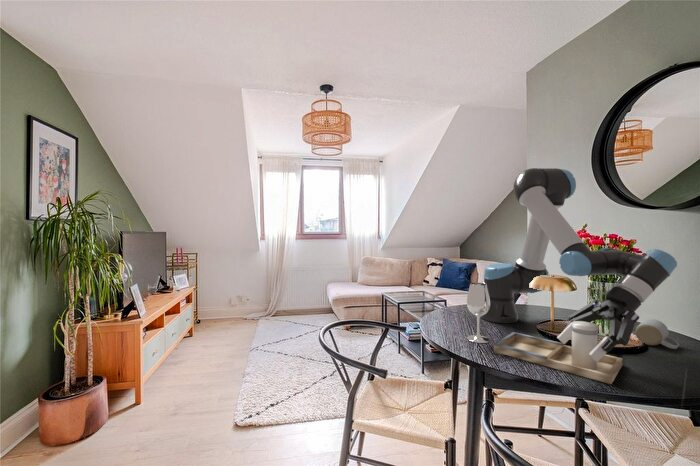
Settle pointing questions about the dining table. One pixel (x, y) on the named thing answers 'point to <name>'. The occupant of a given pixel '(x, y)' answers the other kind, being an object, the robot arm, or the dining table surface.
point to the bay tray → (555, 356)
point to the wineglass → (478, 307)
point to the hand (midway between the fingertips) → (575, 348)
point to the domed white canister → (584, 344)
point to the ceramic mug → (655, 333)
